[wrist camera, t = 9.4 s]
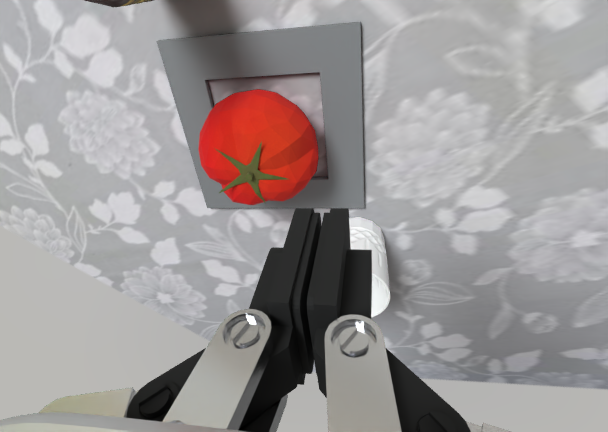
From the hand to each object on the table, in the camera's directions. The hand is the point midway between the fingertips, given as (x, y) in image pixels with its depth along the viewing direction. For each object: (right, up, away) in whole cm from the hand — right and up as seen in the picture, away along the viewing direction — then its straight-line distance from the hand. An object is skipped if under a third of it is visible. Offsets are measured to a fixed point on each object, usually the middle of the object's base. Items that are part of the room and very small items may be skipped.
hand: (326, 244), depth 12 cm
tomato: (-4, +11, +30) cm, 32 cm away
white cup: (+6, -2, +37) cm, 37 cm away
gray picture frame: (-4, +10, +30) cm, 32 cm away
